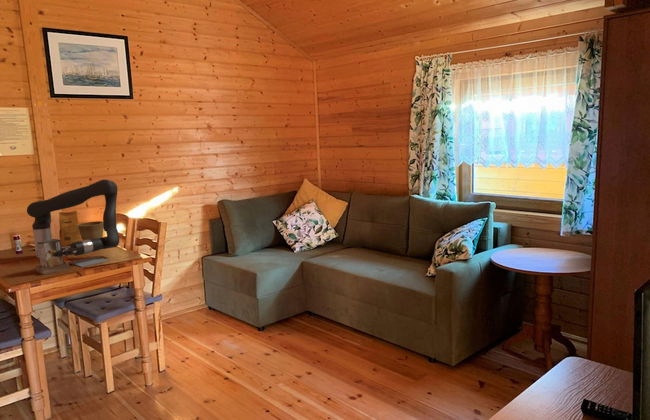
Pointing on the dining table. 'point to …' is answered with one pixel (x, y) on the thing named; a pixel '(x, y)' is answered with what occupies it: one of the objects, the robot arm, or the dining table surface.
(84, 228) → the plant pot
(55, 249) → the coffee box
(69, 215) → the coffee package
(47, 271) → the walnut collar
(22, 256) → the dining table surface
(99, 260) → the rubber mat
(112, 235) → the robot arm
